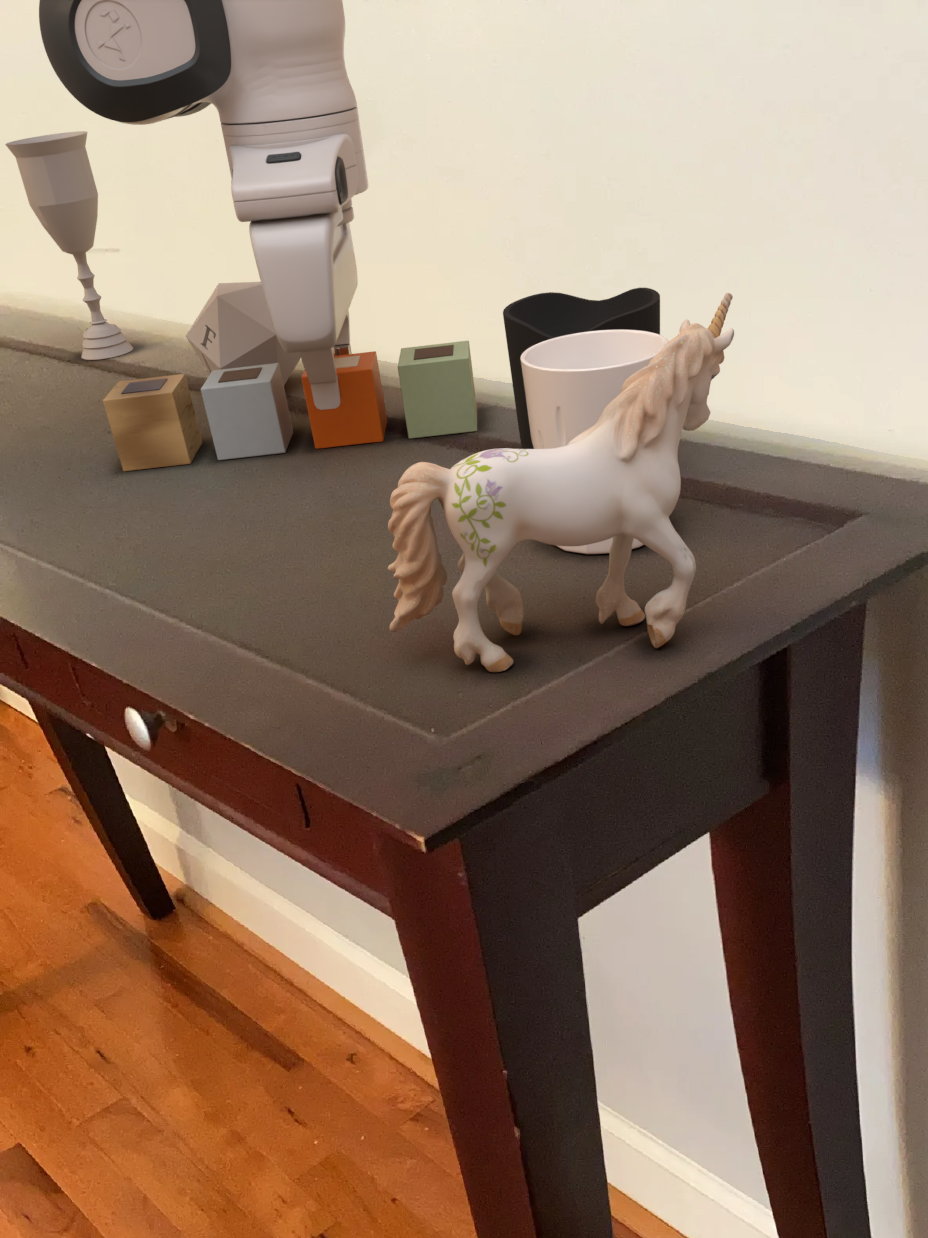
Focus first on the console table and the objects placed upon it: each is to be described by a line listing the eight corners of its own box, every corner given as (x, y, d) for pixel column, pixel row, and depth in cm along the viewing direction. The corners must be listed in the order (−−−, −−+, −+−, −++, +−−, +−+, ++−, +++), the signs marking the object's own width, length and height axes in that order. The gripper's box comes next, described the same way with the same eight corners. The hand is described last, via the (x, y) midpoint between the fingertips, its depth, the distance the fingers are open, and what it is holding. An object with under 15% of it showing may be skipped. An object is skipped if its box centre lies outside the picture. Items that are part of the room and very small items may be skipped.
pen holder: (575, 508, 77) (562, 331, 71) (492, 474, 83) (473, 310, 77) (695, 467, 81) (692, 295, 74) (607, 438, 87) (597, 277, 81)
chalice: (125, 339, 128) (69, 130, 117) (156, 347, 124) (100, 131, 113) (58, 357, 125) (-7, 144, 114) (87, 366, 120) (22, 145, 109)
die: (212, 391, 111) (148, 309, 102) (286, 318, 110) (228, 230, 101) (266, 442, 107) (205, 362, 98) (342, 367, 107) (288, 281, 98)
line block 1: (123, 471, 92) (102, 399, 89) (137, 450, 96) (118, 380, 93) (190, 463, 92) (171, 391, 89) (202, 442, 96) (184, 372, 93)
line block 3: (408, 438, 92) (397, 364, 89) (411, 418, 96) (400, 347, 92) (477, 431, 91) (468, 356, 88) (477, 411, 95) (468, 339, 92)
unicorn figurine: (807, 610, 62) (818, 317, 54) (442, 720, 57) (393, 415, 49) (730, 564, 68) (730, 291, 60) (390, 661, 63) (338, 377, 55)
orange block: (315, 449, 92) (300, 375, 89) (321, 428, 96) (308, 357, 93) (383, 441, 92) (371, 367, 89) (387, 421, 96) (375, 349, 93)
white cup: (511, 549, 73) (491, 365, 67) (583, 501, 78) (570, 326, 72) (631, 567, 69) (621, 374, 63) (698, 516, 74) (695, 332, 68)
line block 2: (217, 460, 92) (199, 387, 89) (228, 439, 96) (211, 369, 93) (285, 453, 92) (270, 379, 89) (293, 432, 96) (278, 361, 93)
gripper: (271, 152, 92) (307, 356, 100) (226, 194, 75) (274, 434, 84) (358, 143, 91) (387, 348, 100) (331, 183, 75) (369, 424, 84)
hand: (335, 388), depth 92 cm, fingers open, 8 cm apart
